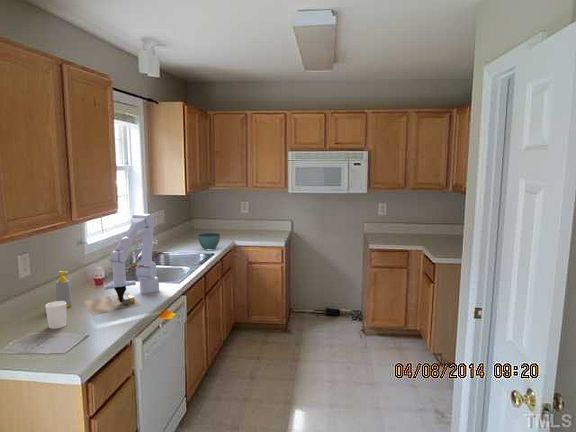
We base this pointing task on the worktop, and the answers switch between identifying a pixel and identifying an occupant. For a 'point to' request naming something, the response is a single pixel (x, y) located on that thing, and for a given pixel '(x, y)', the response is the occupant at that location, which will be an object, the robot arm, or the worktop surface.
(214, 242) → the plant pot
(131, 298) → the light wood small block
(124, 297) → the swing bar
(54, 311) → the white cup
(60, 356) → the worktop surface
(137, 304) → the latch board
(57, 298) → the soap bottle
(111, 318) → the worktop surface
